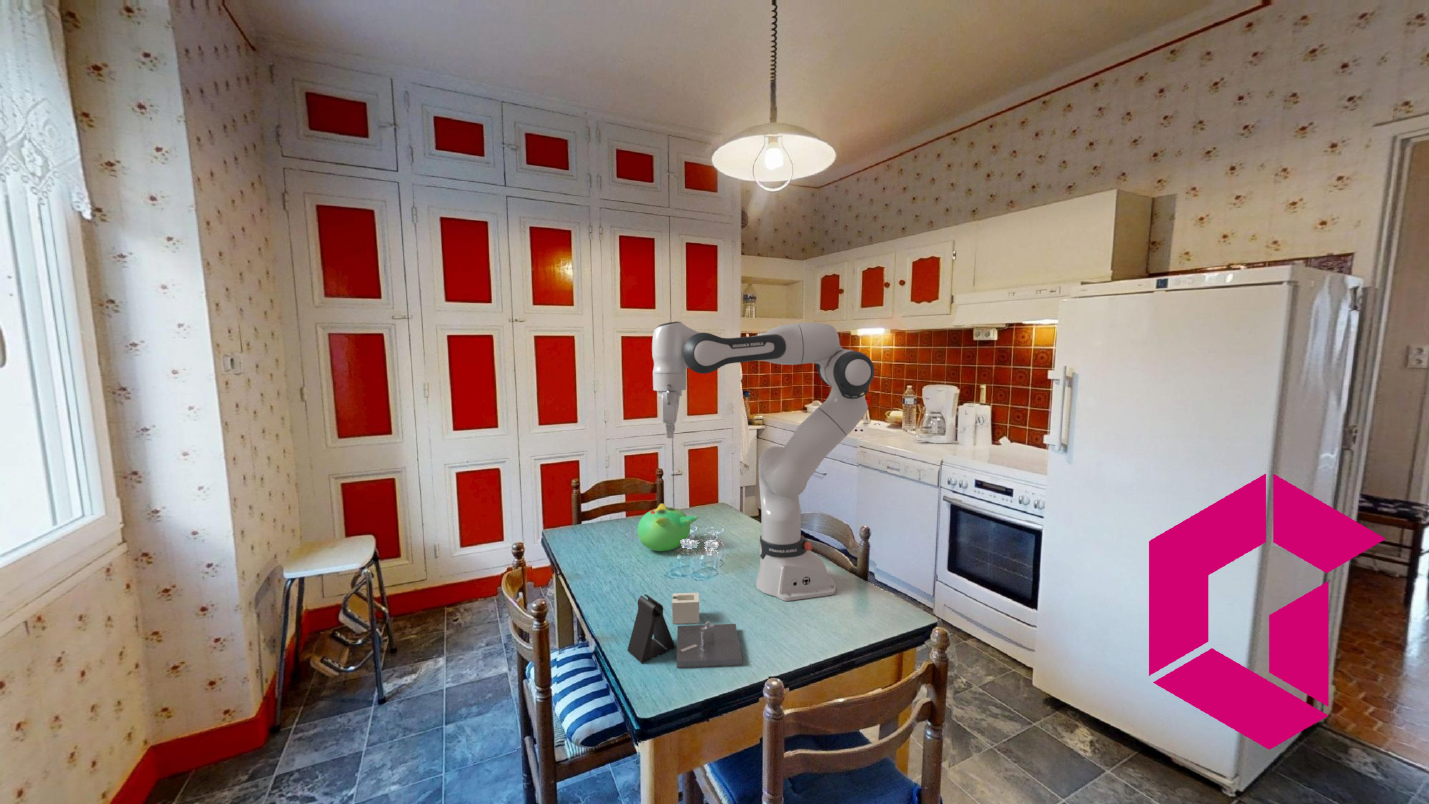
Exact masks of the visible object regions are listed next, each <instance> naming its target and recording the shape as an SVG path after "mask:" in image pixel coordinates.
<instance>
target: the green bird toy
mask: <svg viewBox="0 0 1429 804" xmlns="http://www.w3.org/2000/svg"><path fill="white" fill-rule="evenodd" d="M698 519H699V516H698V515H686V514H685V513H684V512H683V511H682V510H680V509H679V508H675V507H671V506H666V505H665V504H664V503H659V505H658V506H657V508H653V509H651V510H649V511H648V512H646V513H644V515H643V516H641V518H640V520H639V522H638V525H637V536H638V539H639V541H640V542H641V544H642V545H643V546H645V548H647V549H649V550H651V551H654V552H655V551H656V552H666V551H671V550H674V549H676V548H678V546H679V545H680V540H682V539H686V538H687V539H688V537H689V536H690V532H691V524H693V523H694V522H697V520H698ZM687 539H686V540H687ZM680 546H681V545H680ZM680 546H679V547H680Z"/></svg>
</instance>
